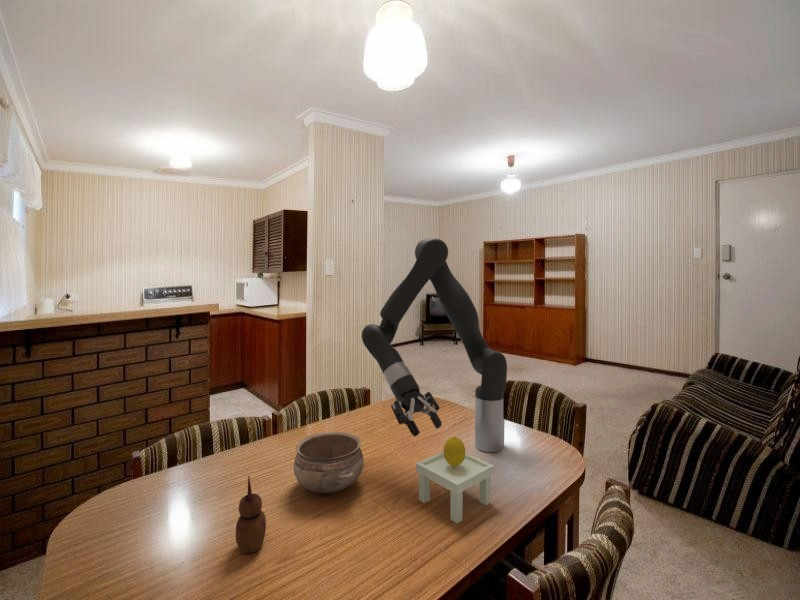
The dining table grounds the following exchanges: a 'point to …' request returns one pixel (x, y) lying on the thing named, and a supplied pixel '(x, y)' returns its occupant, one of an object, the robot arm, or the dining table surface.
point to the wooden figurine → (250, 523)
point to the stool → (455, 480)
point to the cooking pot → (328, 461)
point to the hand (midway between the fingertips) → (428, 430)
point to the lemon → (454, 451)
